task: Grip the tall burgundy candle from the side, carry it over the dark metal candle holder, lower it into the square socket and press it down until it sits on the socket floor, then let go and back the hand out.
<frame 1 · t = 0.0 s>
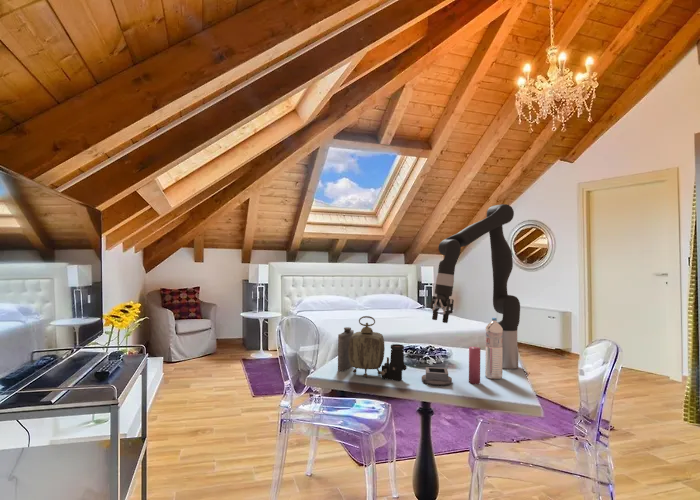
hand: (439, 321, 182), 22 cm above the table, tool pointing down, fingers open, 8 cm apart
flask: (346, 368, 188), on the table
candle holder: (436, 381, 169), on the table
tabletop clock: (366, 376, 176), on the table
candle: (474, 382, 168), on the table
water bottle: (493, 378, 176), on the table
scope: (394, 379, 172), on the table
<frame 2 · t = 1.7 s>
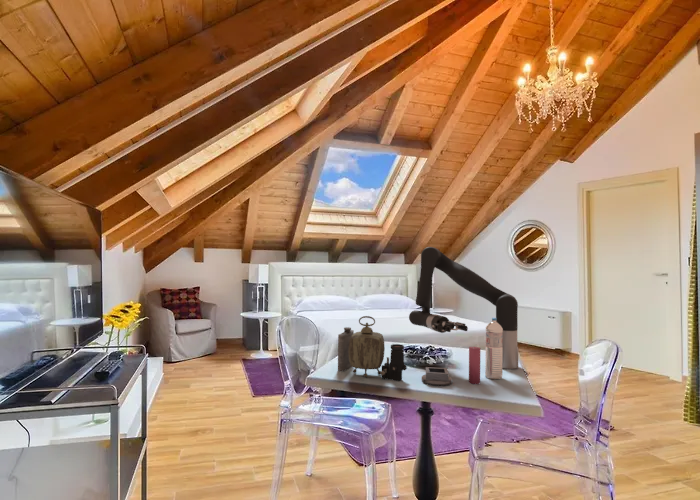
hand: (458, 329, 179), 20 cm above the table, tool horizontal, fingers open, 8 cm apart
nothing on the table moved.
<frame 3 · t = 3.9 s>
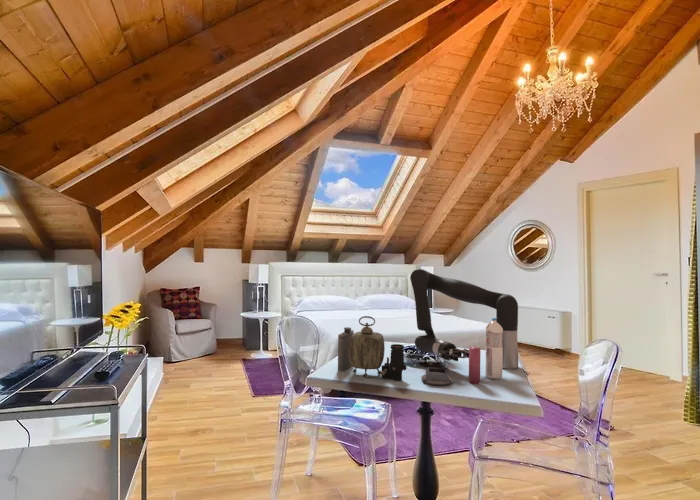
hand: (466, 358, 173), 9 cm above the table, tool horizontal, fingers open, 8 cm apart
nothing on the table moved.
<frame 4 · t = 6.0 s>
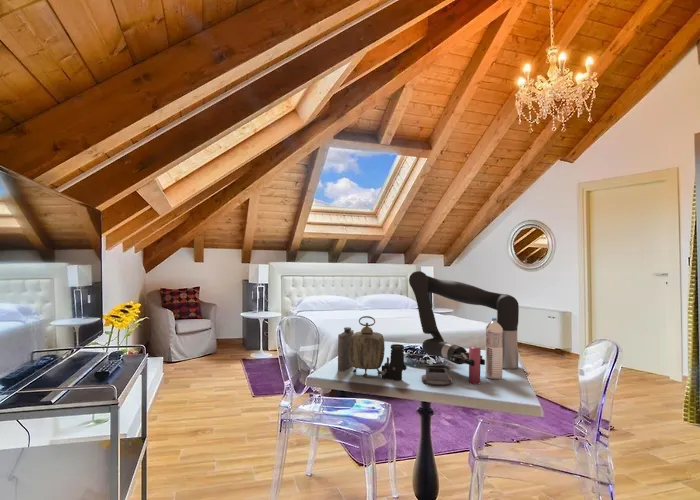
hand: (479, 363, 166), 9 cm above the table, tool horizontal, fingers closed on candle, 4 cm apart
candle: (474, 382, 168), on the table, touching gripper
everything else where it was.
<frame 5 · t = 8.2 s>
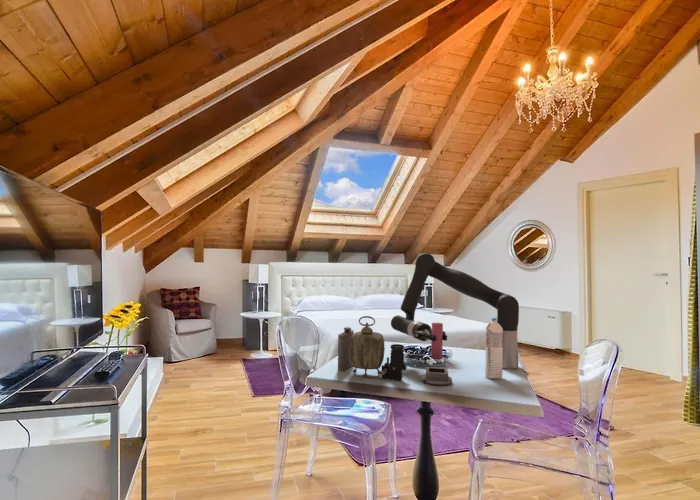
hand: (440, 338, 167), 18 cm above the table, tool horizontal, fingers closed on candle, 4 cm apart
candle: (436, 358, 169), point 9 cm above the table, touching gripper
everything else where it was.
when the fingers open (10 cm above the table, at t = 10.3 s): candle stays where it is, resting on candle holder.
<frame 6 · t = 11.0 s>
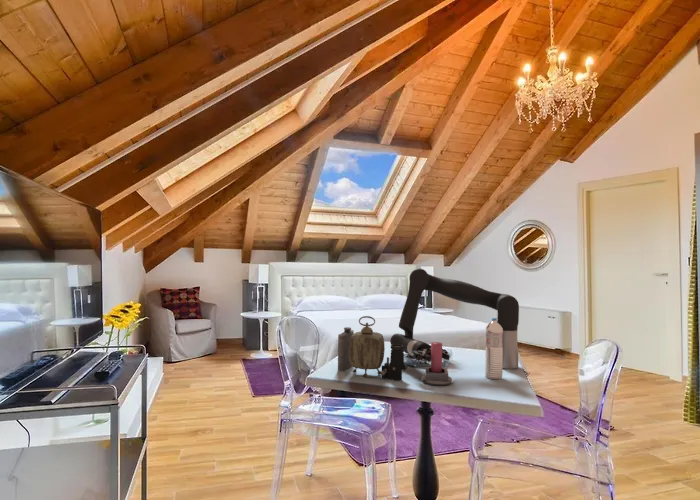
hand: (439, 358, 167), 10 cm above the table, tool horizontal, fingers open, 8 cm apart
candle: (436, 377, 169), point 2 cm above the table, touching candle holder
everything else where it was.
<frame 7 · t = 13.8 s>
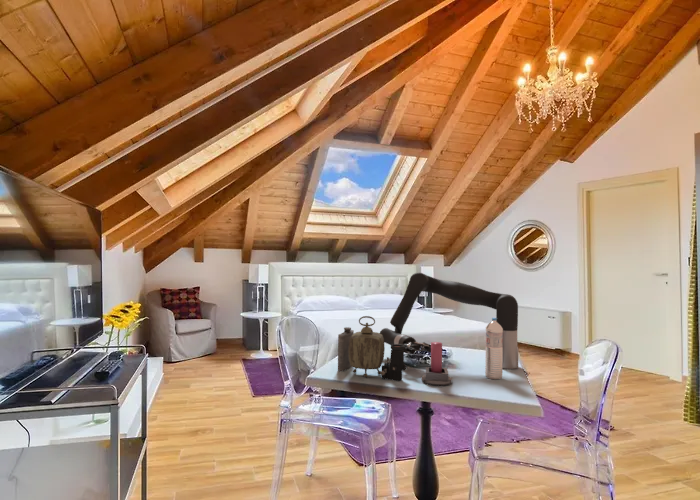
hand: (422, 350, 179), 10 cm above the table, tool horizontal, fingers open, 8 cm apart
nothing on the table moved.
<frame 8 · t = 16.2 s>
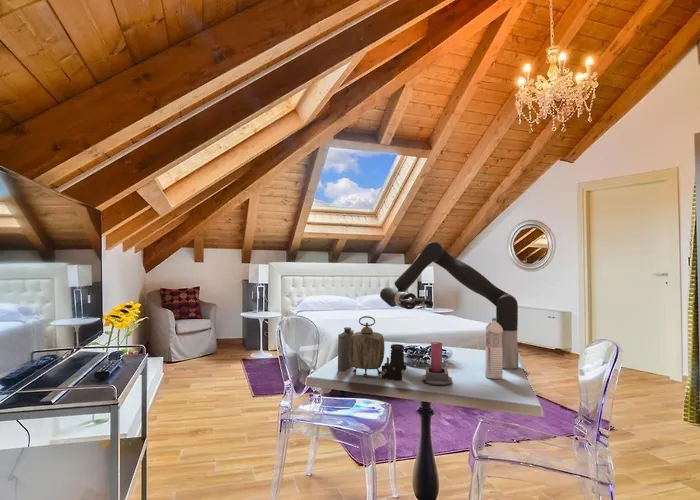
hand: (423, 304, 180), 30 cm above the table, tool horizontal, fingers open, 8 cm apart
nothing on the table moved.
at the end: candle 0.2 cm off-centre on the candle holder, point 1.5 cm above the candle holder's base; candle tilted 0°; the gripper is holding nothing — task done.
